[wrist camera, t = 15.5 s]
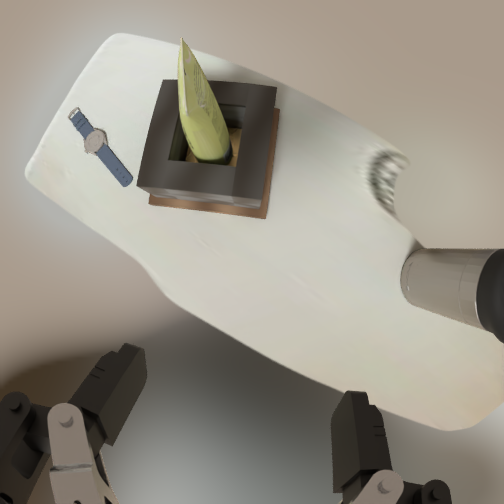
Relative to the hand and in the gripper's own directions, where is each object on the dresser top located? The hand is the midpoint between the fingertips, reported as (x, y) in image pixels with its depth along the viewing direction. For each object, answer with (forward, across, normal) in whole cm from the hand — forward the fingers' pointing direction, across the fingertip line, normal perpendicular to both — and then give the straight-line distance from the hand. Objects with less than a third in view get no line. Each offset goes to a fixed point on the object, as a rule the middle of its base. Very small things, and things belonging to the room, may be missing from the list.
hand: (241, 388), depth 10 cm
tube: (+31, +9, -6) cm, 33 cm away
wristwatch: (+32, +30, -5) cm, 44 cm away
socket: (+33, +10, -5) cm, 35 cm away
